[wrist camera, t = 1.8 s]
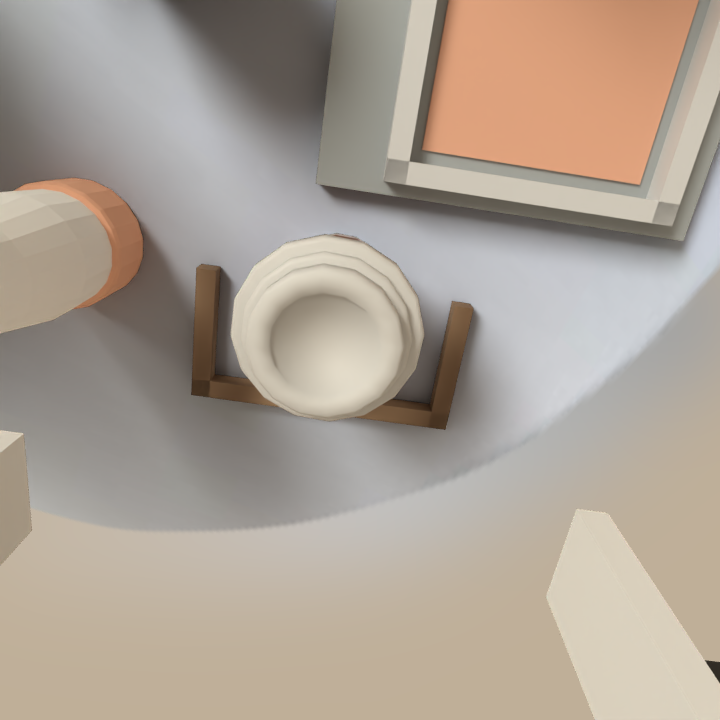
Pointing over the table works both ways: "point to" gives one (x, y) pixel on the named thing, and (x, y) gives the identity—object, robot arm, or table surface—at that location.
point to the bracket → (245, 391)
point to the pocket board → (528, 107)
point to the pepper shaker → (63, 249)
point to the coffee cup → (327, 327)
